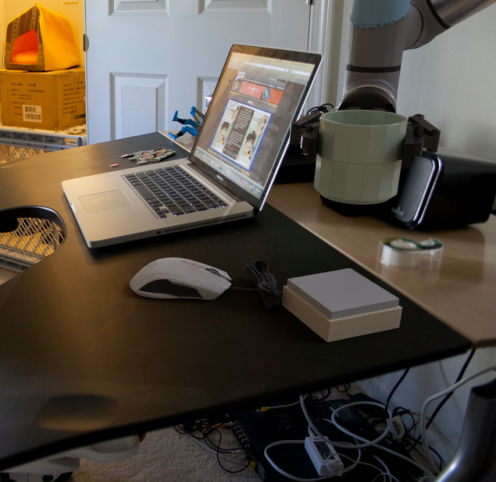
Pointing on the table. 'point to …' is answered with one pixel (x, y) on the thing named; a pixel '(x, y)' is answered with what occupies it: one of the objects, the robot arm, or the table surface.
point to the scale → (341, 304)
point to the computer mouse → (199, 280)
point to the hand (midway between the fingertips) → (358, 153)
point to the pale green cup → (359, 155)
